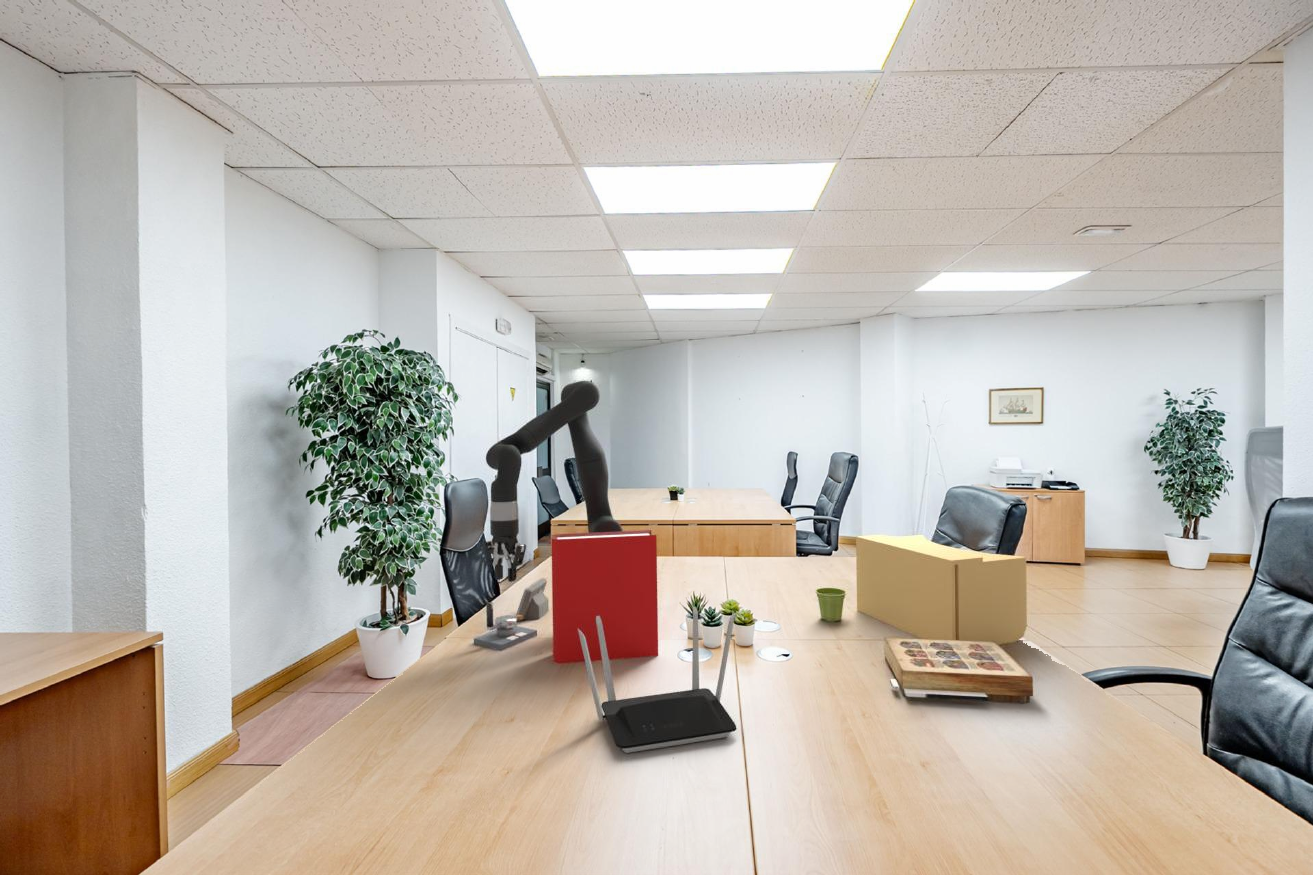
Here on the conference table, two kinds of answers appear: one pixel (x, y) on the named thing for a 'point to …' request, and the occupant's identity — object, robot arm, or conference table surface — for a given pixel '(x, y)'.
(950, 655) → the flat wooden box
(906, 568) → the cardboard box
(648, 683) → the conference table surface
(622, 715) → the wireless router
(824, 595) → the plant pot
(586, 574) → the book
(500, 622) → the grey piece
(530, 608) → the digital clock
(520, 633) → the stand
